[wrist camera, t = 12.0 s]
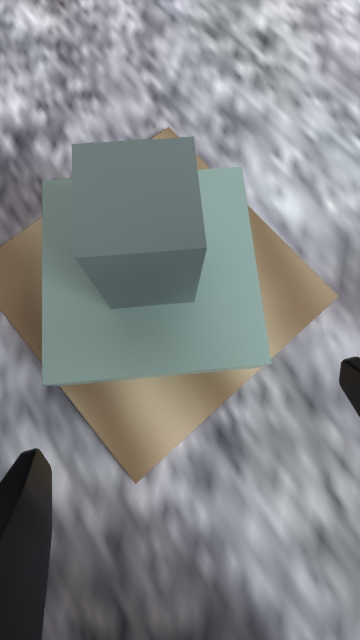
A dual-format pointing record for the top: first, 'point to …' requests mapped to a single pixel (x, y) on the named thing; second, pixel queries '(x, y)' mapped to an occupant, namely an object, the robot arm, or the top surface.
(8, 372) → the top surface
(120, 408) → the cork mat
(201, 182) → the lid
